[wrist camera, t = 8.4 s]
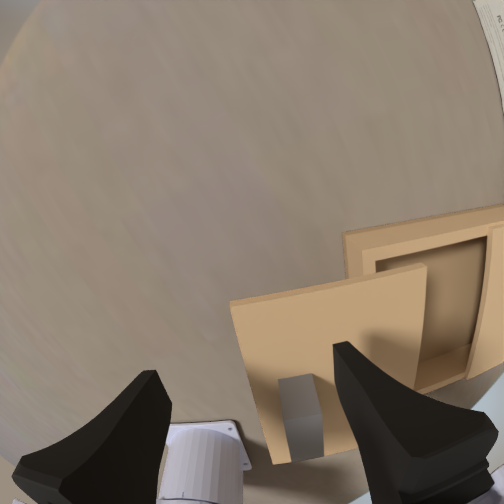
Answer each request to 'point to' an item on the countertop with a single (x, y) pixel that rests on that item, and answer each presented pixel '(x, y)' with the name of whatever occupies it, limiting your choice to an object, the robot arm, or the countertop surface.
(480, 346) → the carton
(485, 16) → the hard drive box
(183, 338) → the countertop surface
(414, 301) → the lid flap
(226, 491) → the robot arm
